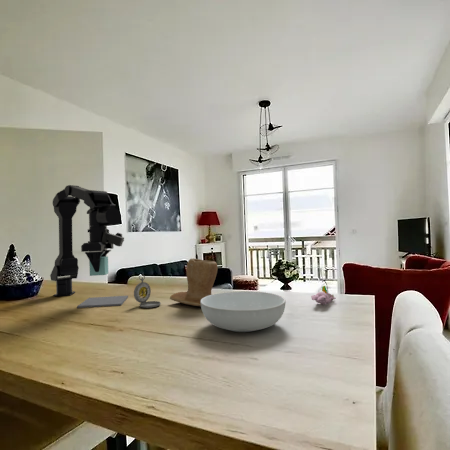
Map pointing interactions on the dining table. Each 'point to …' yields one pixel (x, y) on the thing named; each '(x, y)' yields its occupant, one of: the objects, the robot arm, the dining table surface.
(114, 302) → the charcoal mat
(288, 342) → the dining table surface
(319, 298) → the stuffed toy
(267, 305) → the serving bowl
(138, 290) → the pocket watch
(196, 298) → the tan curved piece
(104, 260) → the teal block
